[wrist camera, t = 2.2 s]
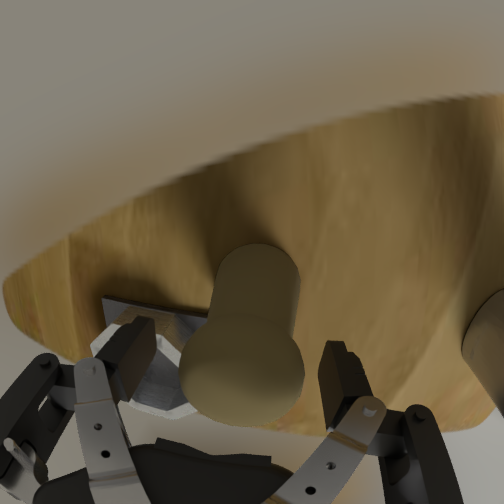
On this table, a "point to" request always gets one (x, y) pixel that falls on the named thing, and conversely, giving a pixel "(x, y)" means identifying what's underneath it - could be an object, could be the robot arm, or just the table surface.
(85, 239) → the table surface
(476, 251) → the table surface
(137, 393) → the duct collar
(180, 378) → the cork
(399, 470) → the robot arm
